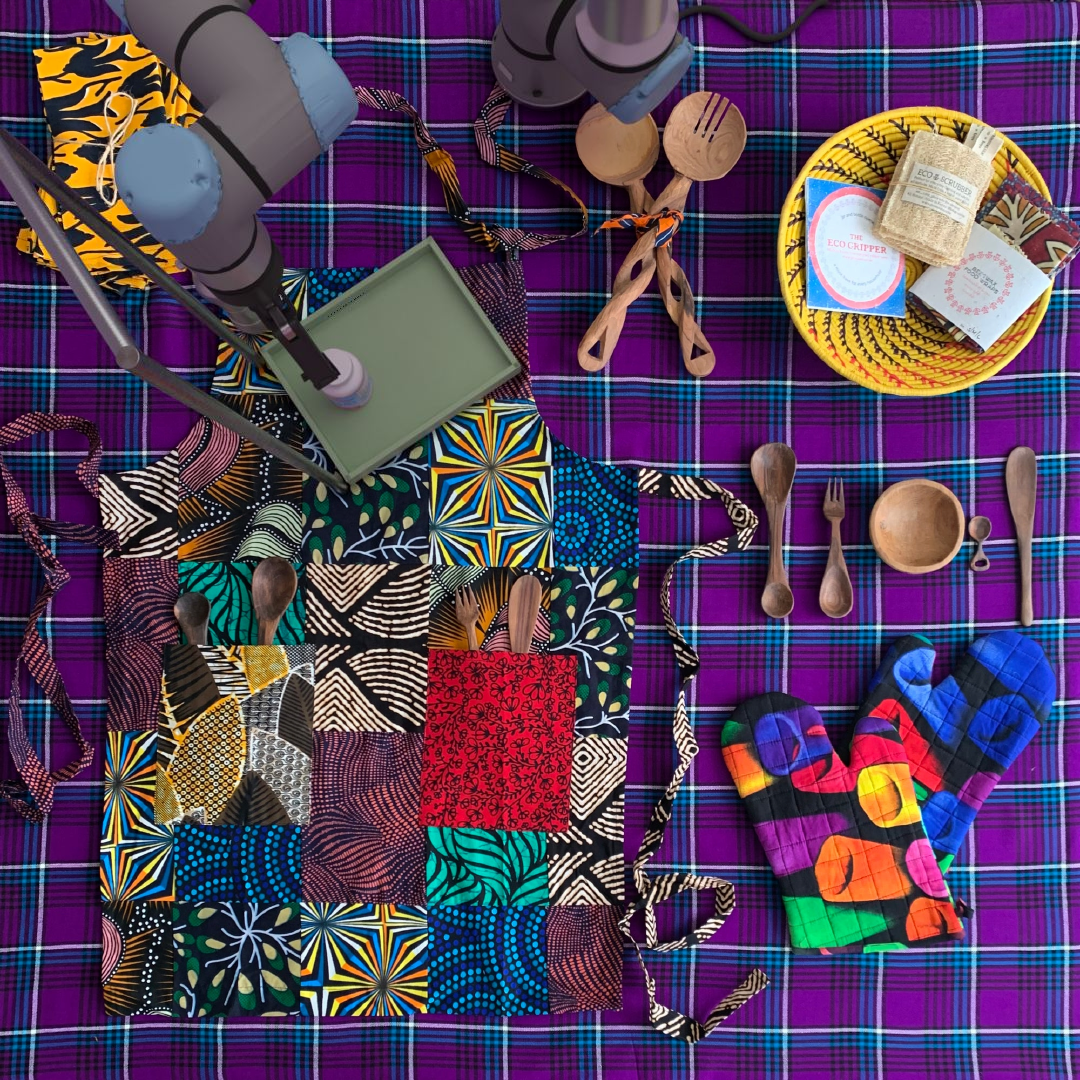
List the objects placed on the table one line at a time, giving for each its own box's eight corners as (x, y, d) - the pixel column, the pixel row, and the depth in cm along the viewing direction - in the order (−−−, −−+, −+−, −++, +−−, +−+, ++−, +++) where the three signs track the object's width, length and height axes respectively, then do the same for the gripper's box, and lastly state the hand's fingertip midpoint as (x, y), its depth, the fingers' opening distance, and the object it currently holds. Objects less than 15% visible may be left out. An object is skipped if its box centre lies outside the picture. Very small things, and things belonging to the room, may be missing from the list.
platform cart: (431, 241, 125) (313, -124, 63) (523, 373, 123) (492, 131, 62) (251, 361, 124) (-49, 108, 62) (340, 496, 122) (123, 373, 61)
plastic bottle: (285, 293, 125) (233, 232, 105) (278, 341, 124) (226, 289, 104) (238, 289, 125) (178, 227, 105) (232, 337, 124) (170, 283, 104)
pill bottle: (323, 402, 123) (300, 380, 112) (339, 360, 123) (318, 335, 112) (364, 417, 123) (345, 397, 112) (381, 376, 123) (364, 352, 112)
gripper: (122, 163, 82) (209, 257, 103) (269, 390, 80) (327, 438, 101) (193, 119, 82) (265, 221, 103) (341, 343, 80) (384, 401, 101)
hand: (296, 329), depth 102 cm, fingers open, 13 cm apart
